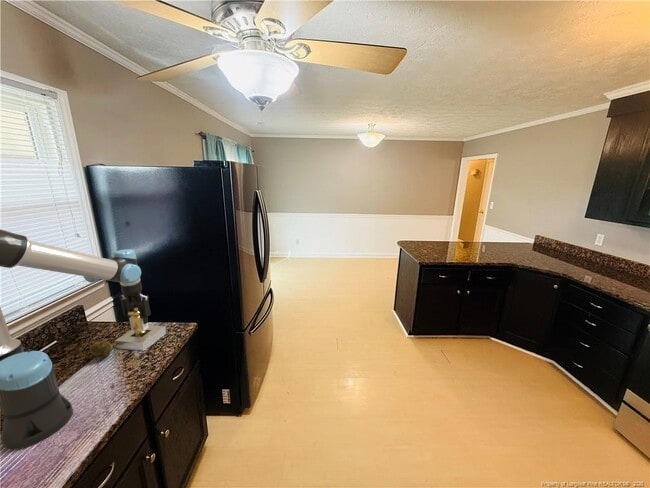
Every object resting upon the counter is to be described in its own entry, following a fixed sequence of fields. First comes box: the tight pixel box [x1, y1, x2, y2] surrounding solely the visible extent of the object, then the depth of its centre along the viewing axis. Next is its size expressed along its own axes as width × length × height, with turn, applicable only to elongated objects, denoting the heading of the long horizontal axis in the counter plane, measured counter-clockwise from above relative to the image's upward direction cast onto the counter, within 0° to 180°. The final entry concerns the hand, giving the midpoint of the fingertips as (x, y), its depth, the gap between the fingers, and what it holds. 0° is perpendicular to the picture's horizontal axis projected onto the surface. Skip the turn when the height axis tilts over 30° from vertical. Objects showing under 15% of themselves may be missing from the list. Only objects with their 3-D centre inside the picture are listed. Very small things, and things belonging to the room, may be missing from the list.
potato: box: [89, 340, 113, 359], centre depth 115 cm, size 8×13×8 cm, turn 28°
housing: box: [114, 324, 167, 352], centre depth 126 cm, size 14×14×4 cm
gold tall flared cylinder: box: [128, 307, 147, 337], centre depth 124 cm, size 6×6×16 cm
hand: (140, 328), depth 125 cm, fingers closed on gold tall flared cylinder, 5 cm apart
